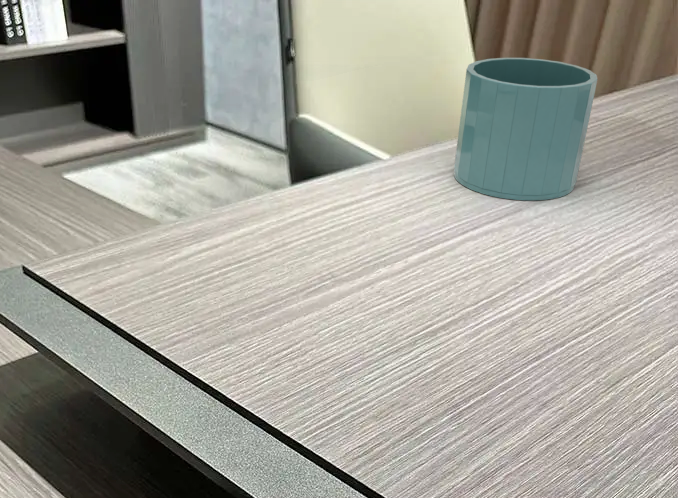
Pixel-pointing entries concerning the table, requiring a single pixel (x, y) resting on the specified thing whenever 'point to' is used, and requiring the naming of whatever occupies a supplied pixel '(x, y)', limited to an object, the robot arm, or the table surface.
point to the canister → (523, 127)
